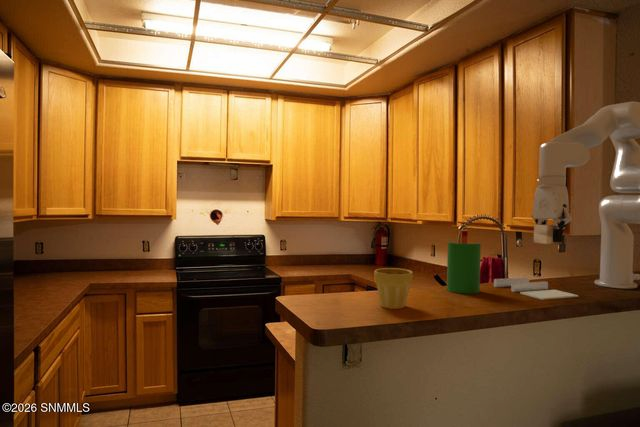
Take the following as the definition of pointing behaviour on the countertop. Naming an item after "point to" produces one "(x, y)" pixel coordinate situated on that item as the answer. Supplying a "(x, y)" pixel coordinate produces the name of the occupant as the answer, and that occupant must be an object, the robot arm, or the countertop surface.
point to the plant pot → (393, 286)
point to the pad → (548, 294)
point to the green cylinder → (463, 266)
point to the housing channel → (520, 284)
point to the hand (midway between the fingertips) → (550, 240)
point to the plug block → (544, 234)
